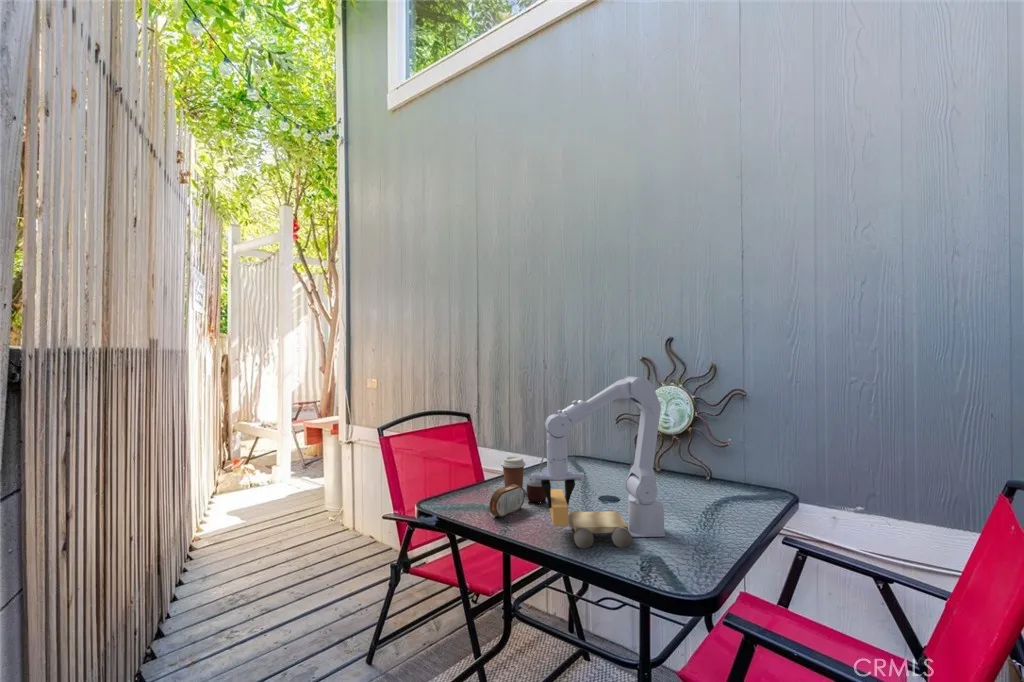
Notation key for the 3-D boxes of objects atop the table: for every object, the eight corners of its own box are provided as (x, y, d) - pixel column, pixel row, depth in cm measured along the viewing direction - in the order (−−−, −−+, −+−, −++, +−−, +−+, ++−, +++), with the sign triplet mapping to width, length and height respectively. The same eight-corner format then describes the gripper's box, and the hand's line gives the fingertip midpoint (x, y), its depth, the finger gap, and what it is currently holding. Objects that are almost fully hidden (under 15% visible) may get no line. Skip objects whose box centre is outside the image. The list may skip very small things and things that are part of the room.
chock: (562, 506, 144) (562, 489, 144) (568, 525, 128) (568, 506, 128) (548, 506, 144) (548, 489, 144) (553, 526, 128) (553, 507, 128)
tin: (519, 506, 163) (518, 481, 163) (526, 508, 161) (526, 482, 161) (488, 519, 151) (488, 491, 151) (496, 521, 149) (496, 493, 149)
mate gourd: (529, 507, 162) (528, 461, 162) (524, 500, 169) (523, 456, 170) (551, 505, 163) (550, 460, 163) (545, 498, 171) (544, 455, 171)
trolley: (618, 526, 143) (618, 509, 143) (631, 547, 128) (631, 528, 128) (567, 527, 143) (567, 510, 143) (574, 548, 128) (574, 529, 128)
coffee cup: (499, 494, 176) (499, 461, 176) (503, 487, 185) (502, 455, 185) (524, 494, 175) (524, 461, 175) (527, 487, 184) (526, 455, 184)
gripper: (581, 454, 140) (582, 501, 140) (530, 455, 140) (531, 502, 140) (584, 460, 133) (585, 510, 133) (531, 461, 133) (532, 511, 133)
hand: (558, 506), depth 136 cm, fingers closed on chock, 4 cm apart
